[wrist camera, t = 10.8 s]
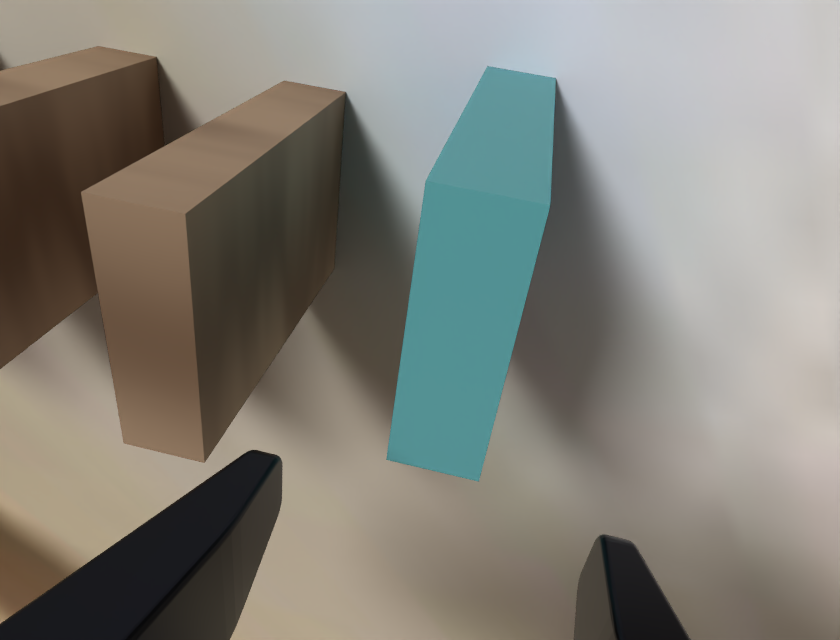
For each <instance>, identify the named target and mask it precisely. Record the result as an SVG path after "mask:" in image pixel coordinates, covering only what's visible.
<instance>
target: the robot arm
mask: <svg viewBox="0 0 840 640" xmlns="http://www.w3.org/2000/svg"><path fill="white" fill-rule="evenodd" d="M281 501H282V460H281V458H280V457H279V456H277V455H275V454H270V453H266V452H262V451H258V450H251V451H248V452H246V453H244V454H243V455H242V456H240V457H239V458H237V459H236V460H234V461H233V462H232V463H230V464H229V465H227V466H226V467H224V468H223V469H222V470H220V471H219V472H217V473H216V474H214V475H213V476H211V477H210V478H209V479H207V480H206V481H204V482H203V483H201V484H200V485H199V486H197V487H196V488H194V489H193V490H191V491H190V492H189V493H187V494H186V495H184V496H183V497H181V498H180V499H179V500H177V501H176V502H174V503H173V504H171V505H170V506H168V507H167V508H166V509H164V510H163V511H161V512H160V513H158V514H157V515H156V516H154V517H153V518H151V519H150V520H148V521H147V522H146V523H144V524H143V525H141V526H140V527H138V528H137V529H135V530H134V531H133V532H131V533H130V534H128V535H127V536H125V537H124V538H123V539H121V540H120V541H118V542H117V543H115V544H114V545H113V546H111V547H110V548H108V549H107V550H105V551H104V552H102V553H101V554H100V555H98V556H97V557H95V558H94V559H92V560H91V561H90V562H88V563H87V564H85V565H84V566H82V567H81V568H80V569H78V570H77V571H75V572H74V573H72V574H71V575H69V576H68V577H67V578H65V579H64V580H62V581H61V582H59V583H58V584H57V585H55V586H54V587H52V588H51V589H49V590H48V591H47V592H45V593H44V594H42V595H41V596H39V597H38V598H36V599H35V600H34V601H32V602H31V603H29V604H28V605H26V606H25V607H24V608H22V609H21V610H19V611H18V612H16V613H15V614H14V615H12V616H11V617H9V618H8V619H6V620H5V621H3V622H2V623H1V624H0V640H230V638H231V636H232V634H233V632H234V630H235V627H236V625H237V623H238V620H239V618H240V615H241V613H242V610H243V608H244V605H245V602H246V600H247V597H248V594H249V592H250V589H251V586H252V584H253V581H254V578H255V576H256V573H257V570H258V568H259V565H260V562H261V560H262V557H263V554H264V552H265V549H266V547H267V544H268V541H269V539H270V536H271V533H272V531H273V528H274V525H275V523H276V520H277V517H278V514H279V511H280V507H281ZM574 640H691V639H690V638H689V636H688V634H687V633H686V631H685V629H684V627H683V626H682V624H681V622H680V621H679V619H678V617H677V615H676V614H675V612H674V610H673V609H672V607H671V605H670V604H669V602H668V600H667V598H666V597H665V595H664V593H663V592H662V590H661V588H660V586H659V585H658V583H657V581H656V580H655V578H654V576H653V574H652V573H651V571H650V569H649V568H648V566H647V564H646V562H645V561H644V559H643V557H642V556H641V554H640V552H639V550H638V549H637V547H636V546H635V545H634V544H633V543H632V542H631V541H629V540H626V539H621V538H617V537H613V536H609V535H600V536H599V537H598V538H597V539H596V540H595V542H594V545H593V547H592V549H591V551H590V554H589V556H588V558H587V561H586V563H585V565H584V567H583V570H582V572H581V575H580V579H579V583H578V590H577V602H576V616H575V630H574Z"/></svg>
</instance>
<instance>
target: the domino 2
mask: <svg viewBox="0 0 840 640" xmlns="http://www.w3.org/2000/svg"><path fill="white" fill-rule="evenodd" d="M345 95H346V92H342V91H337V90H332V89H326V88H321V87H315V86H310V85H305V84H299V83H294V82H288V81H282V82H281V83H279V84H277V85H275V86H273V87H272V88H270V89H268V90H266V91H264V92H262V93H261V94H259V95H257V96H255V97H253V98H251V99H250V100H248V101H246V102H244V103H242V104H241V105H239V106H237V107H235V108H233V109H231V110H230V111H228V112H226V113H224V114H222V115H221V116H219V117H217V118H215V119H213V120H211V121H210V122H208V123H206V124H204V125H202V126H200V127H199V128H197V129H195V130H193V131H191V132H190V133H188V134H186V135H184V136H182V137H180V138H179V139H177V140H175V141H173V142H171V143H169V144H168V145H166V146H164V147H162V148H160V149H159V150H157V151H155V152H153V153H151V154H149V155H148V156H146V157H144V158H142V159H140V160H138V161H137V162H135V163H133V164H131V165H129V166H128V167H126V168H124V169H122V170H120V171H118V172H117V173H115V174H113V175H111V176H109V177H107V178H106V179H104V180H102V181H100V182H98V183H97V184H95V185H93V186H91V187H89V188H87V189H86V190H84V191H82V192H81V196H82V202H83V207H84V213H85V219H86V225H87V231H88V237H89V243H90V248H91V254H92V260H93V266H94V272H95V278H96V284H97V289H98V295H99V301H100V307H101V313H102V319H103V325H104V330H105V336H106V342H107V348H108V354H109V360H110V366H111V371H112V377H113V383H114V389H115V395H116V401H117V407H118V412H119V418H120V424H121V430H122V436H123V442H124V443H125V444H129V445H133V446H137V447H141V448H145V449H150V450H154V451H158V452H162V453H166V454H170V455H174V456H178V457H182V458H187V459H191V460H195V461H199V462H203V463H205V461H206V460H207V458H208V457H209V455H210V454H211V452H212V451H213V449H214V448H215V446H216V445H217V443H218V442H219V440H220V439H221V437H222V436H223V434H224V433H225V431H226V430H227V428H228V427H229V425H230V424H231V422H232V421H233V419H234V418H235V416H236V415H237V413H238V412H239V410H240V409H241V407H242V406H243V404H244V403H245V401H246V400H247V398H248V397H249V395H250V394H251V392H252V391H253V389H254V388H255V386H256V385H257V383H258V382H259V380H260V379H261V378H262V376H263V375H264V373H265V372H266V370H267V369H268V367H269V366H270V364H271V363H272V361H273V360H274V358H275V357H276V355H277V354H278V352H279V351H280V349H281V348H282V346H283V345H284V343H285V342H286V340H287V339H288V337H289V336H290V334H291V333H292V331H293V330H294V328H295V327H296V325H297V324H298V322H299V321H300V319H301V318H302V316H303V315H304V313H305V312H306V310H307V309H308V307H309V306H310V304H311V303H312V301H313V300H314V298H315V297H316V295H317V294H318V292H319V291H320V289H321V288H322V286H323V285H324V283H325V282H326V280H327V279H328V277H329V276H330V274H331V273H332V271H333V270H334V265H335V249H336V234H337V218H338V203H339V188H340V172H341V157H342V141H343V126H344V110H345Z"/></svg>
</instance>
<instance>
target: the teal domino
mask: <svg viewBox="0 0 840 640" xmlns="http://www.w3.org/2000/svg"><path fill="white" fill-rule="evenodd" d="M555 85H556V78H551V77H545V76H540V75H534V74H528V73H523V72H517V71H511V70H506V69H500V68H494V67H489V66H487V68H486V70H485V72H484V74H483V76H482V78H481V79H480V81H479V83H478V85H477V87H476V89H475V91H474V92H473V94H472V96H471V98H470V100H469V102H468V104H467V105H466V107H465V109H464V111H463V113H462V115H461V116H460V118H459V120H458V122H457V124H456V126H455V128H454V129H453V131H452V133H451V135H450V137H449V139H448V141H447V142H446V144H445V146H444V148H443V150H442V152H441V154H440V155H439V157H438V159H437V161H436V163H435V165H434V167H433V168H432V170H431V172H430V174H429V176H428V178H427V180H426V183H425V190H424V197H423V204H422V211H421V218H420V225H419V232H418V240H417V247H416V254H415V261H414V268H413V275H412V282H411V289H410V296H409V303H408V310H407V317H406V325H405V332H404V339H403V346H402V353H401V360H400V367H399V374H398V381H397V388H396V395H395V402H394V409H393V417H392V424H391V431H390V438H389V445H388V452H387V459H386V460H390V461H394V462H398V463H403V464H407V465H411V466H415V467H420V468H424V469H428V470H432V471H437V472H441V473H445V474H449V475H453V476H458V477H462V478H466V479H470V480H475V481H479V478H480V475H481V471H482V467H483V463H484V459H485V455H486V451H487V448H488V444H489V440H490V436H491V432H492V428H493V425H494V421H495V417H496V413H497V409H498V405H499V401H500V398H501V394H502V390H503V386H504V382H505V378H506V374H507V371H508V367H509V363H510V359H511V355H512V351H513V347H514V344H515V340H516V336H517V332H518V328H519V324H520V320H521V317H522V313H523V309H524V305H525V301H526V297H527V293H528V290H529V286H530V282H531V278H532V274H533V270H534V266H535V263H536V259H537V255H538V251H539V247H540V243H541V239H542V236H543V232H544V228H545V224H546V220H547V216H548V212H549V209H550V203H551V179H552V156H553V132H554V109H555Z"/></svg>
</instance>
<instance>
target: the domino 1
mask: <svg viewBox="0 0 840 640" xmlns="http://www.w3.org/2000/svg"><path fill="white" fill-rule="evenodd" d="M162 147H164V134H163V123H162V112H161V101H160V90H159V79H158V68H157V57H154V56H148V55H143V54H137V53H132V52H127V51H121V50H116V49H110V48H105V47H100V46H97V47H93V48H89V49H85V50H81V51H77V52H73V53H69V54H65V55H61V56H57V57H53V58H49V59H45V60H41V61H37V62H33V63H29V64H25V65H21V66H17V67H13V68H9V69H5V70H1V71H0V369H1V368H2V367H3V366H5V365H6V364H7V363H9V362H10V361H11V360H12V359H14V358H15V357H16V356H17V355H19V354H20V353H21V352H23V351H24V350H25V349H26V348H28V347H29V346H30V345H32V344H33V343H34V342H35V341H37V340H38V339H39V338H41V337H42V336H43V335H44V334H46V333H47V332H48V331H50V330H51V329H52V328H53V327H55V326H56V325H57V324H58V323H60V322H61V321H62V320H64V319H65V318H66V317H67V316H69V315H70V314H71V313H73V312H74V311H75V310H76V309H78V308H79V307H80V306H82V305H83V304H84V303H85V302H87V301H88V300H89V299H91V298H92V297H93V296H94V295H96V294H97V293H98V289H97V284H96V278H95V272H94V266H93V260H92V254H91V248H90V243H89V237H88V231H87V225H86V219H85V213H84V207H83V202H82V196H81V192H82V191H84V190H86V189H87V188H89V187H91V186H93V185H95V184H97V183H98V182H100V181H102V180H104V179H106V178H107V177H109V176H111V175H113V174H115V173H117V172H118V171H120V170H122V169H124V168H126V167H128V166H129V165H131V164H133V163H135V162H137V161H138V160H140V159H142V158H144V157H146V156H148V155H149V154H151V153H153V152H155V151H157V150H159V149H160V148H162Z"/></svg>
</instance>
